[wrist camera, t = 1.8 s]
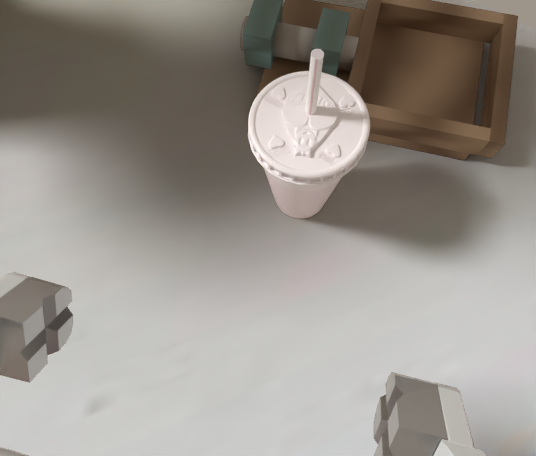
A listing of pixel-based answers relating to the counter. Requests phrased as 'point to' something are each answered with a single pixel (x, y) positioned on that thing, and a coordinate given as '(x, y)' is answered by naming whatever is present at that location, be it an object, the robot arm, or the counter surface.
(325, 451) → the counter surface
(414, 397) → the robot arm
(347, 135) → the smoothie
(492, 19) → the brown wooden tray
